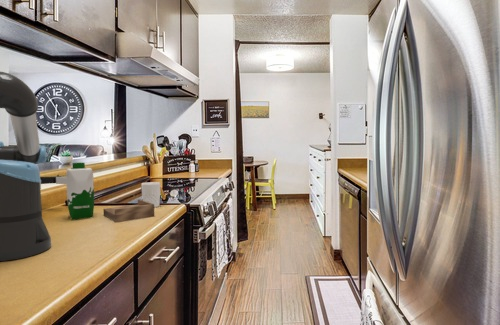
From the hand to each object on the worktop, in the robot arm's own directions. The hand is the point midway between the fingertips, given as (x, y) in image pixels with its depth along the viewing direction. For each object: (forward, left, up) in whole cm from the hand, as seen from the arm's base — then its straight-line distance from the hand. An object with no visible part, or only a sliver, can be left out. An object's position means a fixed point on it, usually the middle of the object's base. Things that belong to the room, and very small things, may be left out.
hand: (55, 183), depth 123 cm
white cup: (+34, -7, -13) cm, 37 cm away
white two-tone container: (+6, -9, -13) cm, 17 cm away
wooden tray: (+20, -19, -12) cm, 31 cm away
